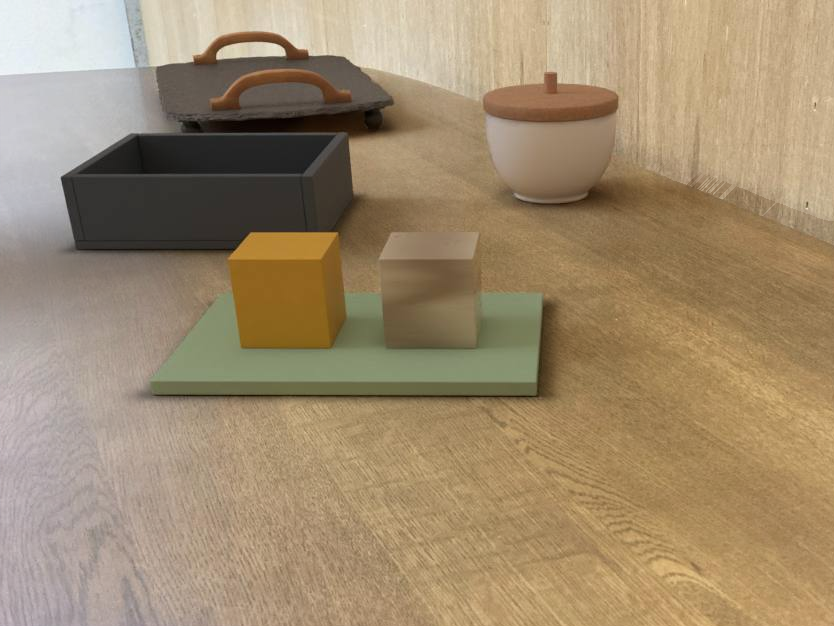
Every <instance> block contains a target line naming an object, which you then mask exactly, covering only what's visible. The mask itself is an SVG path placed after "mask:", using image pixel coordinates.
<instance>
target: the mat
mask: <svg viewBox="0 0 834 626" xmlns="http://www.w3.org/2000/svg"><path fill="white" fill-rule="evenodd" d="M344 295H345V305H346V315H347V317H346V319H345V321H344V323H343V325H342V327H341V329H340V331H339V333H338V335H337V337H336V339H335V341H334V343H333V345H332V347H331V348H241V345H240V338H239V332H238V325H237V319H236V312H235V306H234V299H233V292H231V291H230V292H224V291H223V292H221V293H220V294H219V296H217V298H216V299H215V300H214V302H213V303H212V304H211V305H210V306H209V308H208V309H207V310H206V311H205V313H204V314H203V315H202V316H201V318H200V319H198V322H197V323H195V325H194V326H193V327H192V329H191V330H190V331H189V332H188V334H186V336H185V337H184V339H182V340H181V342H180V343H179V345H178V346H177V347H176V348H175V350H174V351H173V352H172V353H171V355H170V356H169V357H168V358H167V360H165V362H164V363H163V364H162V365H161V367H160V368H159V369H158V371H157V372H156V373H155V374H154V375H153V377H152V378H151V379H150V381H149V382H150V388H151V393H152V395H154V396H155V395H164V396H165V395H167V396H169V395H171V396H172V395H173V396H175V395H179V396H180V395H183V396H184V395H185V396H186V395H191V396H192V395H193V396H194V395H195V396H196V395H197V396H198V395H200V396H201V395H202V396H203V395H204V396H205V395H207V396H210V395H211V396H214V395H215V396H216V395H217V396H229V395H231V396H238V395H239V396H252V395H253V396H507V397H508V396H513V397H515V396H516V397H517V396H526V397H529V396H532V397H533V396H537V394H538V383H539V367H540V355H541V354H540V353H541V341H542V326H543V325H542V324H543V313H544V311H543V310H544V292H482V310H483V318H482V323H481V328H480V333H479V338H478V343H477V347H476V348H386V347H385V336H384V323H383V311H382V299H381V292H344Z"/></svg>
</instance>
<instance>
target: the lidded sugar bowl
mask: <svg viewBox="0 0 834 626" xmlns="http://www.w3.org/2000/svg"><path fill="white" fill-rule="evenodd" d="M482 106H483V111H484V124H485V125H484V126H485V136H486V142H487V149H488V153H489V157H490V160H491V163H492V165H493V168H494V170H495V172H496V173H497V175H498V177H499V178H500V179H501V180H502V182H503V183H504V184H505V185H506V186H507V187H508V188H509V189H510V190H512V191H513V195H514V197H515V198H516V199H518V200H520V201H523V202H527V203H535V204H566V203H572V202H577V201H580V200H583V199H585V198H587V197H588V195H589V191H590V190H591V189H592V188H593V187H594V186H595V185H596V184H597V183H598V182H599V181H600V180H601V178H602V177H603V176H604V174H605V173H606V170H607V169H608V167H609V164H610V162H611V160H612V156H613V153H614V149H615V148H614V147H615V141H616V135H617V134H616V133H617V111H618V110H619V95H618V93H617V92H616V91H614V90H611V89H608V88H605V87H600V86H596V85H589V84H581V83H580V84H579V83H562V82H561V83H559V82H558V72H557V71H544V72H543V83H529V84H528V83H527V84H526V83H525V84H517V85H516V84H515V85H509V86H504V87H499V88H496V89H493V90H490V91H488V92H486V93H485V94H484V95H483V97H482Z"/></svg>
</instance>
